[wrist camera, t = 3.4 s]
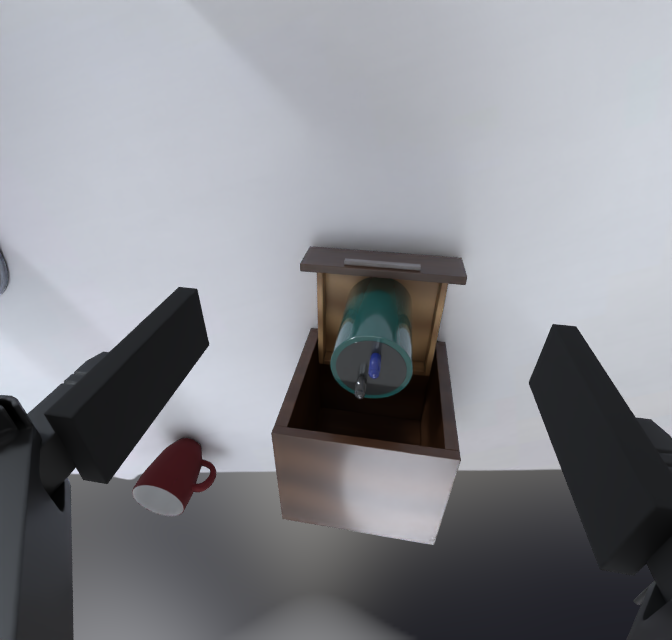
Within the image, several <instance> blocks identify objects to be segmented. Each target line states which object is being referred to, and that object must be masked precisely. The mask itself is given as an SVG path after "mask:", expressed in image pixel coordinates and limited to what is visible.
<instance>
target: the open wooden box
mask: <svg viewBox="0 0 672 640" xmlns="http://www.w3.org/2000/svg"><path fill="white" fill-rule="evenodd" d="M271 434H272V442H273V449H274V457H275V465H276V473H277V480H278V488H279V496H280V503H281V510H282V518H283V519H286V520H292V521H298V522H304V523H309V524H315V525H321V526H327V527H333V528H338V529H344V530H350V531H356V532H362V533H368V534H374V535H380V536H385V537H391V538H397V539H403V540H409V541H415V542H420V543H426V544H432V545H434V543H435V539H436V537H437V533H438V530H439V527H440V524H441V521H442V518H443V514H444V511H445V508H446V505H447V502H448V499H449V496H450V492H451V489H452V486H453V483H454V480H455V477H456V474H457V470H458V467H459V464H460V461H461V458H460V451H459V443H458V436H457V428H456V420H455V412H454V405H453V397H452V389H451V382H450V374H449V366H448V358H447V351H446V343H445V342H436V347H435V352H434V357H433V361H432V366H431V371H430V376H425V375H415V374H412V377H411V380H410V382H409V383H408V384H407V386H406V387H405V388H404V389H403V390H401V391H400V392H398V393H397V394H394V395H392V396H389V397H385V398H365V397H364V398H362V399H357V398H356V397H355V395H354V394H352V393H351V392H349V391H347V390H346V389H344V388H343V387H342V386H341V385H340V384H339V383H338V382H337V381H336V380H335V378H334V376H333V374H332V371H331V367H330V365H329V364H320V363H319V353H318V329H311V330H310V333H309V335H308V338H307V341H306V343H305V346H304V349H303V351H302V354H301V356H300V359H299V362H298V364H297V367H296V370H295V372H294V375H293V378H292V380H291V383H290V386H289V388H288V391H287V393H286V396H285V399H284V401H283V404H282V407H281V409H280V412H279V415H278V417H277V420H276V423H275V426H274V428H273V430H272V433H271Z"/></svg>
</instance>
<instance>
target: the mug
mask: <svg viewBox="0 0 672 640" xmlns="http://www.w3.org/2000/svg"><path fill="white" fill-rule="evenodd" d="M201 466H205V467H207V468H209V469H210V475H209V477H208V478H207V479H206V480H205V481H204V482H202V483H200V484H196V481H197V478H198V475H199V472H200V469H201ZM215 477H216V469H215V467H214V465H213V464H212V463H210V462H209V461H206V460H202V449H201V446H200V444H199V443H198V442H196V441H195V440H193V439H190V438H182V439H180V440H178V441H176V442H174V443H173V444H171V445H170V446H168V447H167V448H166V449H165V450H164V451H163V452H162V453H161V454H160V455H159V456H158V457H157V458H156V459H155V460H154V462H153V463H152V464H151V465H150V466H149V467H148V468H147V469H146V470H145V472H144V473H143V474H142V475H141V477H140V479H139V480H138V482H137V483H136V485H135V486H134V488H133V490H132V494H133V497H134V499H135V500H136V501H137V502H138V503H139V504H140V505H141V506H143V507H144V508H146V509H147V510H150V511H152V512H154V513H157V514H160V515H164V516H177V515H180V514H181V513H183V511H184V509H185V508H186V506H187V504H188V502H189V500H190V498H191V496H192V494H193V492H202V491H204V490H206V489H207V488H209V487H210V486H211V485H212V483H213V482H214V479H215Z"/></svg>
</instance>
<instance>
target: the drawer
mask: <svg viewBox="0 0 672 640" xmlns="http://www.w3.org/2000/svg"><path fill="white" fill-rule="evenodd" d="M300 271H305V272H317V302H318V353H319V363H320V364H329V365H330V362H331V356H332V353H333V349H334V345H335V342H336V338H337V334H338V331H339V327H340V323H341V319H342V316H343V312H344V308H345V305H346V301H347V297H348V294H349V292H350V290H351V289H352V288H353V286H354V285H355V284H357V283H358V282H360V281H361V280H363V279H365V278H369V277H377V278H388V279H394V280H396V281H398V282H399V283H401V284H402V285H403V286H404V287H405V288H406V289H407V291H408V292H409V294H410V296H411V299H412V334H413V373H412V374H415V375H425V376H430V371H431V366H432V361H433V357H434V352H435V347H436V342H437V337H438V332H439V327H440V322H441V317H442V312H443V307H444V302H445V297H446V292H447V287H448V284H460V285H465V284H466V280H467V275H466V271H465V268H464V264H463V261H462V258H457V257H444V256H431V255H417V254H404V253H391V252H378V251H364V250H351V249H338V248H324V247H311V246H310V247H309V249H308V251H307V252H306V254H305V256H304V258H303V260H302V261H301V263H300Z"/></svg>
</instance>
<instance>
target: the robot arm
mask: <svg viewBox="0 0 672 640" xmlns="http://www.w3.org/2000/svg"><path fill="white" fill-rule="evenodd" d="M7 283H8V272H7V267H6V264H5V261H4V258H3V256H2V254H1V252H0V295H1V294H2V293H3V292H4V290H5V289H6V287H7ZM208 346H209V341H208V337H207V332H206V328H205V323H204V318H203V314H202V309H201V304H200V300H199V295H198V290H197V289H193V288H183V287H178V288H177V289H176V290H175V291H174V292H173V293H172V294H171V295H170V296H169V297H168V298H167V299H166V300H165V301H164V302H162V303H161V304H160V305H159V306H158V307H157V308H156V309H155V310H154V311H153V312H152V313H151V314H150V315H149V316H148V317H146V318H145V319H144V320H143V321H142V322H141V323H140V324H139V325H138V326H137V327H136V328H135V329H134V330H133V331H131V332H130V333H129V334H128V335H127V336H126V337H125V338H124V339H123V340H122V341H121V342H120V343H119V344H118V345H117V346H115V347H114V348H113V349H112V350H111V351H110V352H102V353H100V354H98V355H96V356H95V357H93V358H91V359H89V360H87V361H86V362H85V363H84V364H83V365H82V366H80V367H79V368H78V369H77V370H76V371H75V372H74V374H72V375H70V376H69V377H68V378H67V379H66V380H65V381H64V384H60V385H59V386H58V387H57V388H56V389H55V390H54V391H53V392H52V393H50V394H49V395H48V396H47V397H46V398H45V399H44V400H43V401H41V402H40V403H39V404H38V405H37V406H36V407H35V408H34V409H33V410H31V411H30V412H29V413H28V414H27V413H26V412H25V410H24V409H23V407H22V406H21V404H20V402H19V401H18V399H16V398H15V397H13V396H7V395H0V640H73V590H72V589H73V588H72V530H71V485H70V482H69V479H68V478H67V477H68V476H69V475H70V474H71V472H72V471H73V470H74V469H75V468H76V469H77V470H78V472H79V474H80V475H81V477H82V479H83V480H87V481H93V482H98V483H104V484H108V483H109V481H110V480H111V479H112V477H113V476H114V474H115V473H116V472H117V470H118V469H119V468H120V466H121V465H122V463H123V462H124V461H125V459H126V458H127V457H128V455H129V454H130V453H131V451H132V450H133V448H134V447H135V446H136V444H137V443H138V442H139V440H140V439H141V438H142V436H143V435H144V433H145V432H146V431H147V429H148V428H149V427H150V425H151V424H152V422H153V421H154V420H155V418H156V417H157V416H158V414H159V413H160V412H161V410H162V409H163V407H164V406H165V405H166V403H167V402H168V401H169V399H170V398H171V397H172V395H173V394H174V392H175V391H176V390H177V388H178V387H179V386H180V384H181V383H182V381H183V380H184V379H185V377H186V376H187V375H188V373H189V372H190V371H191V369H192V368H193V366H194V365H195V364H196V362H197V361H198V360H199V358H200V357H201V356H202V354H203V353H204V351H205V350H206V349H207V347H208ZM529 385H530V388H531V390H532V393H533V395H534V398H535V401H536V403H537V406H538V409H539V411H540V414H541V416H542V419H543V422H544V424H545V427H546V430H547V432H548V435H549V437H550V440H551V443H552V445H553V448H554V451H555V453H556V456H557V458H558V461H559V464H560V466H561V469H562V472H563V474H564V477H565V479H566V482H567V485H568V487H569V490H570V493H571V495H572V497H573V500H574V503H575V506H576V508H577V511H578V513H579V516H580V518H581V521H582V524H583V526H584V529H585V532H586V534H587V537H588V540H589V542H590V545H591V547H592V550H593V553H594V555H595V558H596V561H597V563H598V566H599V569H600V570H605V571H610V572H616V573H622V574H628V575H635V574H636V573H637V572H638V571H639V570H640V569H641V568H642V567H643V566H644V565H645V564H646V563H647V565H648V568H649V570H650V571H651V574H652V576H653V578H654V580H655V581H654V582H653V583H652V584H651V585H650V586H648V587H647V588H646V589H645V590H644V591H643V592H642V593H641V594H640V595H639V596H638V597H637V598H636V599H635V600H634V602H635V603H636V604H638V605H639V604H641V603H642V604H641V606H640V609H639V611H638V614H637V616H636V618H635V621H634V623H633V626H632V628H631V631H630V633H629V636H628V638H627V640H672V438H671V437H670V435H669V434H667V433H666V432H665V431H664V430H663V429H662V428H660V427H659V426H658V425H657V424H656V423H655V422H653V421H652V420H651V419H643V418H635V416H634V415H633V413H632V411H631V410H630V408H629V407H628V405H627V404H626V402H625V401H624V399H623V398H622V396H621V395H620V393H619V391H618V390H617V388H616V387H615V385H614V384H613V382H612V381H611V379H610V378H609V376H608V375H607V373H606V372H605V370H604V368H603V367H602V365H601V364H600V362H599V361H598V359H597V358H596V356H595V355H594V353H593V352H592V350H591V348H590V347H589V345H588V344H587V342H586V341H585V339H584V338H583V336H582V335H581V333H580V332H579V330H578V329H577V327H576V326H566V325H556V324H552V327H551V329H550V332H549V334H548V337H547V339H546V342H545V344H544V346H543V349H542V351H541V354H540V356H539V359H538V361H537V364H536V366H535V368H534V371H533V373H532V376H531V378H530V381H529Z"/></svg>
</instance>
